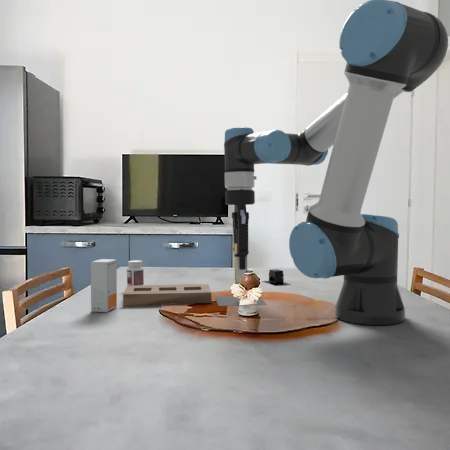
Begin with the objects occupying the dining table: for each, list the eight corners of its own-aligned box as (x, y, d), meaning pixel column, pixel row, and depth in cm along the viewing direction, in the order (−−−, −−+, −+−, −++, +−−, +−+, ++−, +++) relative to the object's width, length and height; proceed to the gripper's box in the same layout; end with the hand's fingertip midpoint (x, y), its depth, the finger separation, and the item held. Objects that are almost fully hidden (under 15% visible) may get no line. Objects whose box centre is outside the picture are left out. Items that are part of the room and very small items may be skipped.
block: (211, 304, 134) (211, 292, 134) (123, 306, 132) (123, 294, 132) (208, 294, 146) (208, 284, 146) (127, 296, 144) (127, 285, 144)
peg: (247, 291, 135) (247, 244, 134) (236, 291, 134) (235, 244, 134) (246, 289, 138) (245, 243, 137) (234, 289, 137) (233, 243, 137)
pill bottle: (145, 288, 156) (145, 260, 155) (141, 291, 151) (141, 262, 151) (129, 288, 156) (129, 259, 156) (125, 291, 152) (124, 262, 151)
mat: (266, 306, 131) (266, 304, 131) (218, 307, 130) (218, 305, 130) (258, 296, 143) (258, 295, 143) (214, 297, 142) (214, 296, 142)
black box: (296, 287, 161) (296, 272, 161) (275, 288, 158) (275, 273, 158) (276, 280, 172) (276, 266, 172) (256, 282, 169) (256, 268, 169)
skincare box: (107, 312, 125) (106, 262, 124) (90, 312, 125) (89, 261, 125) (117, 307, 131) (117, 259, 130) (101, 306, 131) (100, 258, 131)
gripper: (259, 188, 127) (260, 285, 128) (249, 189, 143) (251, 276, 144) (228, 188, 127) (229, 286, 128) (222, 190, 142) (223, 277, 144)
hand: (241, 280), depth 136 cm, fingers closed on peg, 3 cm apart
